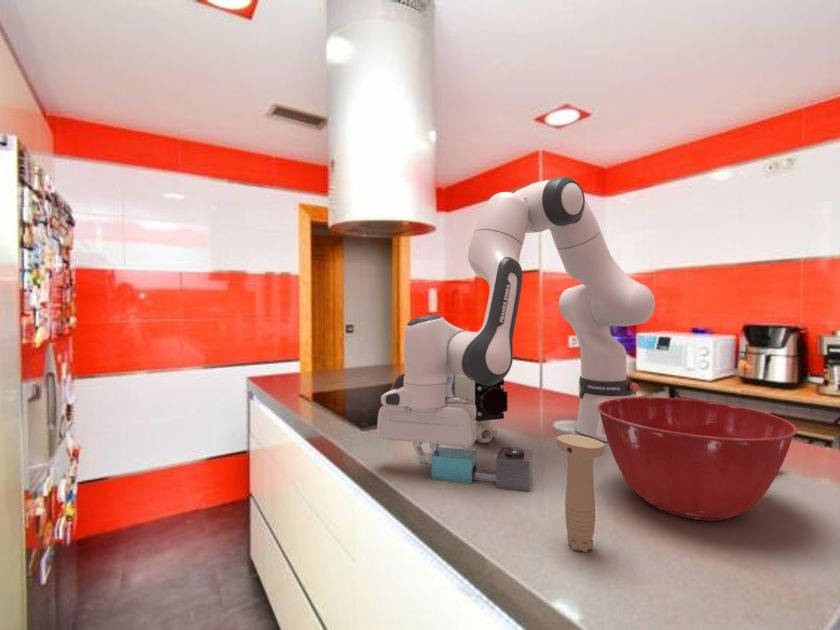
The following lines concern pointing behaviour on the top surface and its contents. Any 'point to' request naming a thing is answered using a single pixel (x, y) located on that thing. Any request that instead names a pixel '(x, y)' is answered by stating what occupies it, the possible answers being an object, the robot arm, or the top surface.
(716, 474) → the mixing bowl
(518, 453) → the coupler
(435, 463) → the teal storage bin
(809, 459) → the top surface
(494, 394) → the ball valve
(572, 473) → the handle
